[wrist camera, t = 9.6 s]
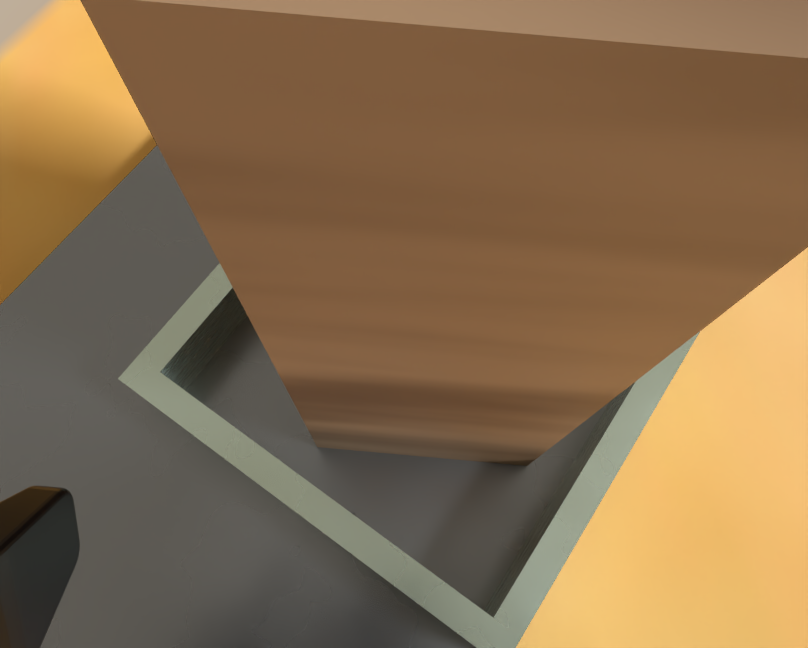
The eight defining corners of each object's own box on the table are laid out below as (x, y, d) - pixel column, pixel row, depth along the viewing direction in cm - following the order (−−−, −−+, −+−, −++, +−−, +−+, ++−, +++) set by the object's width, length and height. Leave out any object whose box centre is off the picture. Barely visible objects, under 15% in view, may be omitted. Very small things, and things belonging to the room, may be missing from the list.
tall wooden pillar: (527, 466, 18) (1027, 77, 4) (317, 447, 18) (78, -6, 4) (531, 273, 20) (882, -453, 6) (341, 256, 20) (236, -505, 6)
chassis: (244, 1057, 15) (208, 1180, 12) (-245, 597, 18) (-375, 601, 15) (704, 286, 21) (756, 238, 18) (291, 39, 24) (278, -38, 21)
